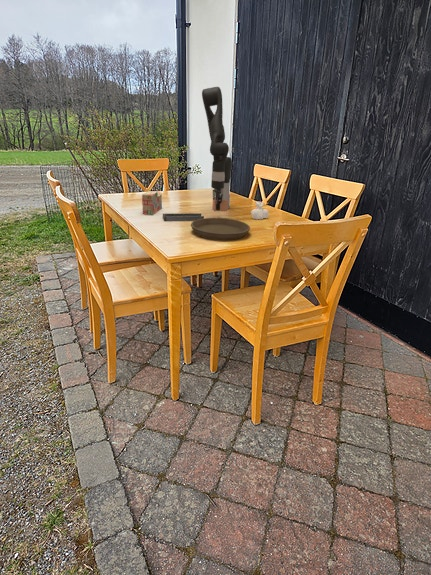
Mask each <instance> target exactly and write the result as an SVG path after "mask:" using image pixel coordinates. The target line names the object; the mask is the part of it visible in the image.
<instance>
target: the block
mask: <svg viewBox="0 0 431 575" xmlns="http://www.w3.org/2000/svg"><path fill="white" fill-rule="evenodd" d="M227 206H228V201H227V200H226V199H224V200H222V203H221V204H220V210H216V200H213V199H212V211H213V212H228V209H227Z"/></svg>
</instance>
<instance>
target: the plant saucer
mask: <svg viewBox="0 0 431 575" xmlns="http://www.w3.org/2000/svg"><path fill="white" fill-rule="evenodd" d="M250 226H251V225H249V224H247V223H246V222H244V221H241V220H238V219H232V218H225V217H224V218H223V217H207V218H206V217H204V218H203V219H198V220H195V221H191V223H190V227H191V229H192V230H193V231H194V232H195V234H196V235H198V236H199V237H202V238H204V239H210V240H217V241H218V240H219V241H231V240H232V239H233V240H238V238H239V239H241V237H242V238H243V237H245V235H246V234H248V233H249V232H250V230H251V227H250Z"/></svg>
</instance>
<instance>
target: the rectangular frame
mask: <svg viewBox="0 0 431 575" xmlns="http://www.w3.org/2000/svg"><path fill="white" fill-rule="evenodd" d="M203 218H205V216H204V215H202V213H200V212H198V213H196V212H195V213H194V212H193V213H187V212H185V213H183V212H182V213H179V212H178V213H173V212H172V213H162V220H163V221H164V222H193V221H195V220H198V219H203Z"/></svg>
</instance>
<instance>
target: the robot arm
mask: <svg viewBox="0 0 431 575" xmlns="http://www.w3.org/2000/svg"><path fill="white" fill-rule="evenodd" d="M201 98H202V102H203V106H204V111H205V115H206V120H207V126H208V133H209V137H210V147H209V153H210V154H211V155H212V156H213V161H212V168H211V169H212V171H211V182H210V183H211V184H210V186H211V189H212V201H213V200H216V210H220V204H221V203H222V200H224V199H226V200H227V201H228V206H227V210H228V209H229V210H230V201H231V200H230V199H231V194H230V188H231V186H230V185H231V177H232V171H233V169H232V168H233V159H232V158H231V157H230V156H229V157H228V154H229V151H230V147H229V144H228V143H227V142H225V139H226V132H225V126H224V125H223V123H224V122H223V115H224V114H223V112H224V111H223V110H224V109H223V94H222V90H221V87H219V86H214V87H213V86H212V87H208V88H203V89H202V91H201ZM213 106H214V107H215V106H216V109H215V110H216V111H215V112H213V110H212V108H211V107H213Z"/></svg>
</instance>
